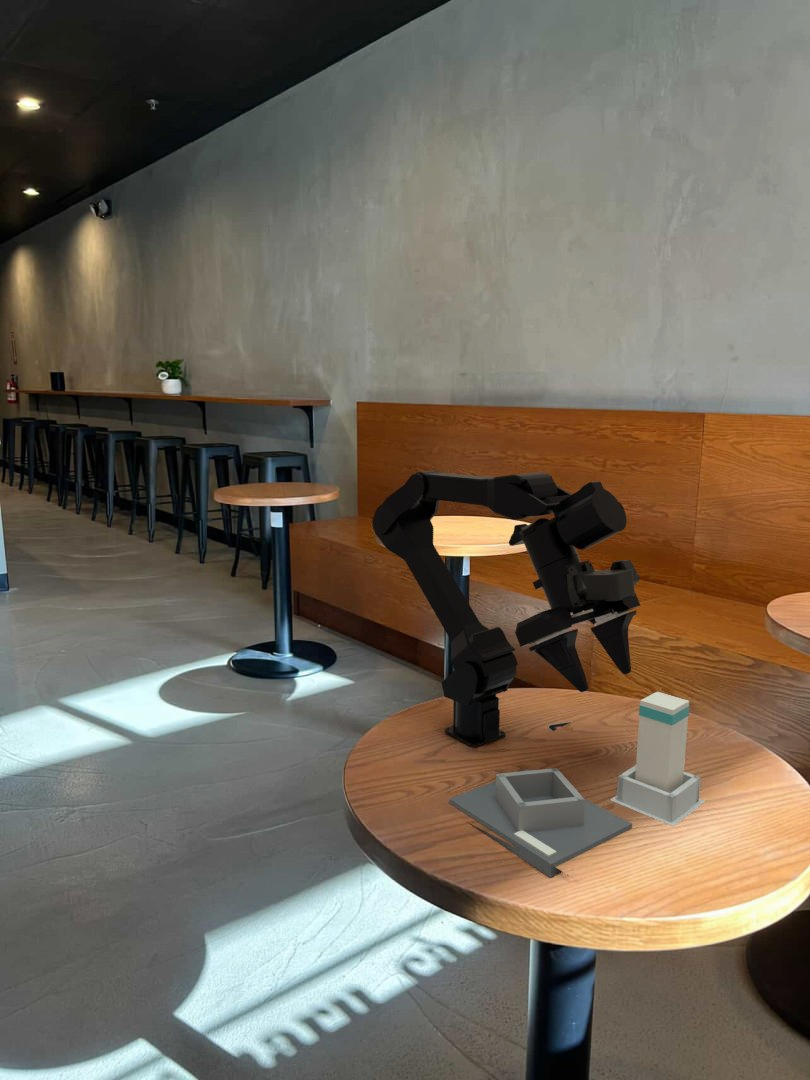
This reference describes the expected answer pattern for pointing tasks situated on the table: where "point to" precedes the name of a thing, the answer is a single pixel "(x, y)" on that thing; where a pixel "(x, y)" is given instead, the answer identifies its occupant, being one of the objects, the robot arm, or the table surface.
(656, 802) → the holster
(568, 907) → the table surface
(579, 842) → the port panel
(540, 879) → the table surface
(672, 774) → the plug
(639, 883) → the table surface
